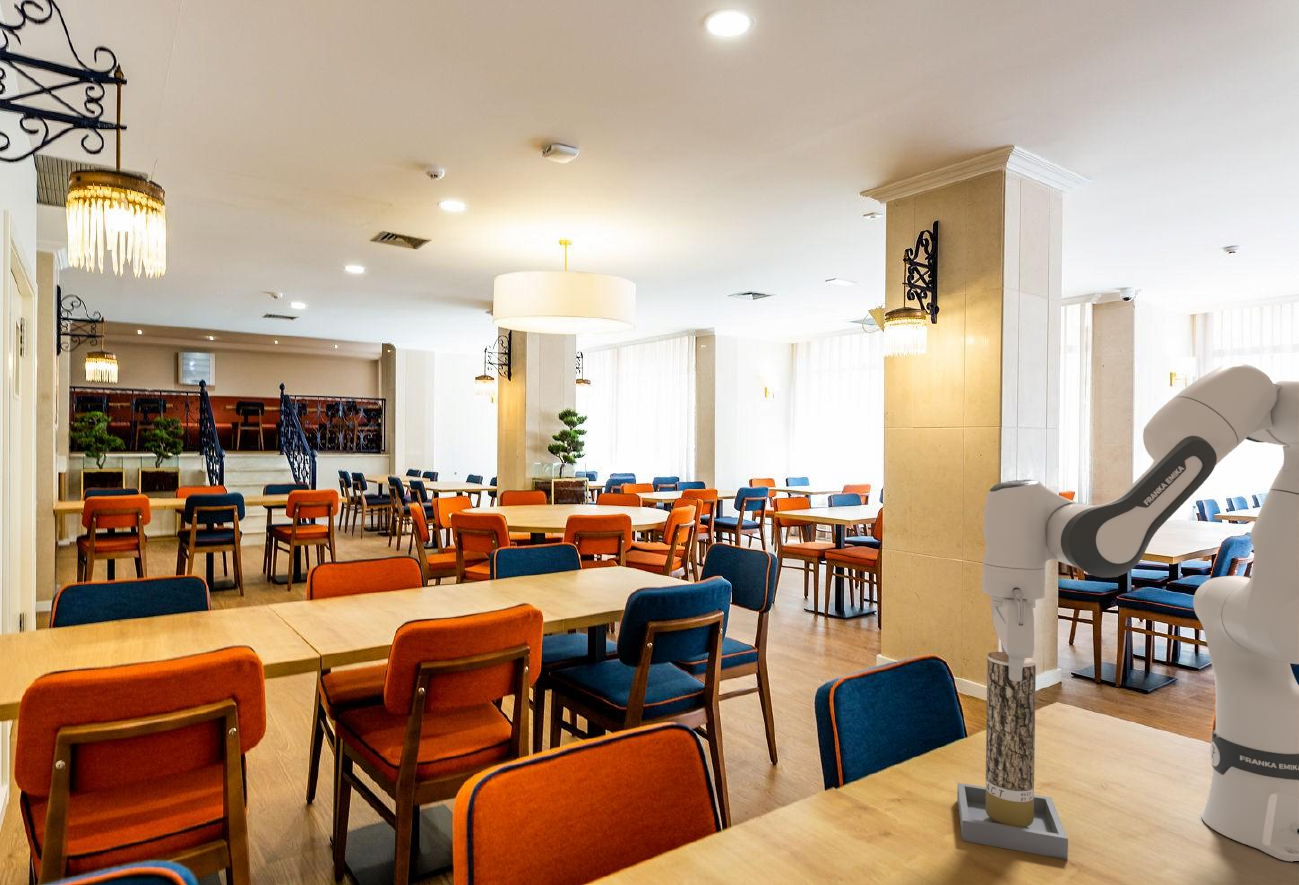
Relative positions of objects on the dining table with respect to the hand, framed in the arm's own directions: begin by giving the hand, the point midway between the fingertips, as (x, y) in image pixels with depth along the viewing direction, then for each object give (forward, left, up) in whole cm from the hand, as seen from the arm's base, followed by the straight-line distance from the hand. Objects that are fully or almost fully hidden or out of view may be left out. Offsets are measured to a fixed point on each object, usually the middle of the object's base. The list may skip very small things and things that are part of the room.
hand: (1011, 672), depth 117 cm
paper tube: (0, 0, -23) cm, 23 cm away
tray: (0, 0, -24) cm, 24 cm away
